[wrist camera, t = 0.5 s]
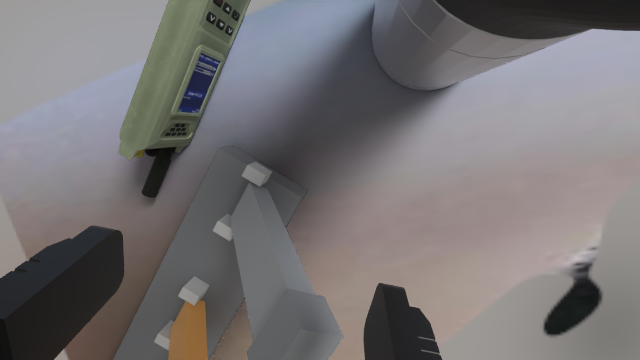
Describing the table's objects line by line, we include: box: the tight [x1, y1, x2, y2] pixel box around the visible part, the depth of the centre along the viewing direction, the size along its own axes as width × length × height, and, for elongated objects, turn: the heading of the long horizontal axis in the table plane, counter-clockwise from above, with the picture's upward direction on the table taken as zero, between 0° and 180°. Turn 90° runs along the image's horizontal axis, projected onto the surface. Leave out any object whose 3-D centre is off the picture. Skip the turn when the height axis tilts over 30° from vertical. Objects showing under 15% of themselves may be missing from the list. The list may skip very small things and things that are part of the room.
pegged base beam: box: [113, 146, 308, 360], centre depth 31 cm, size 30×8×5 cm, turn 150°
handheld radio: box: [118, 0, 251, 198], centre depth 26 cm, size 7×3×25 cm
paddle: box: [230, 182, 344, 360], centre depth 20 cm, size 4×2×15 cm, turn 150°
